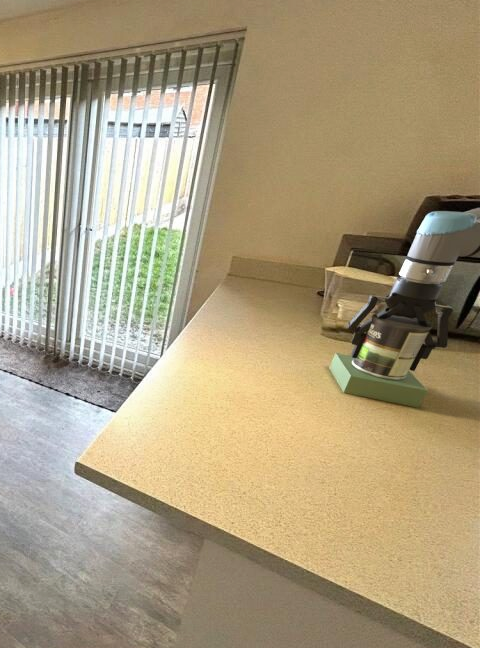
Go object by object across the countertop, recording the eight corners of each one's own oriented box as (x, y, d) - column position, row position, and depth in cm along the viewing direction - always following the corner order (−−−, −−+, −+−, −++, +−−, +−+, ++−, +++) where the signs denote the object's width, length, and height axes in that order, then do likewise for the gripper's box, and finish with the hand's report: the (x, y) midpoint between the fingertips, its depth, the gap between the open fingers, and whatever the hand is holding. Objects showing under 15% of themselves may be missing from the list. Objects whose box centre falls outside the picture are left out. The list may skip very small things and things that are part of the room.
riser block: (395, 380, 106) (403, 364, 104) (418, 407, 95) (427, 390, 93) (329, 368, 112) (335, 352, 110) (343, 392, 101) (350, 376, 99)
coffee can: (360, 374, 99) (382, 324, 94) (345, 356, 108) (365, 309, 102) (415, 384, 95) (442, 331, 90) (395, 364, 104) (419, 315, 98)
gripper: (356, 274, 96) (324, 354, 105) (501, 293, 83) (450, 382, 92) (354, 268, 101) (323, 344, 110) (489, 284, 88) (442, 369, 97)
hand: (381, 362), depth 101 cm, fingers closed on coffee can, 10 cm apart
